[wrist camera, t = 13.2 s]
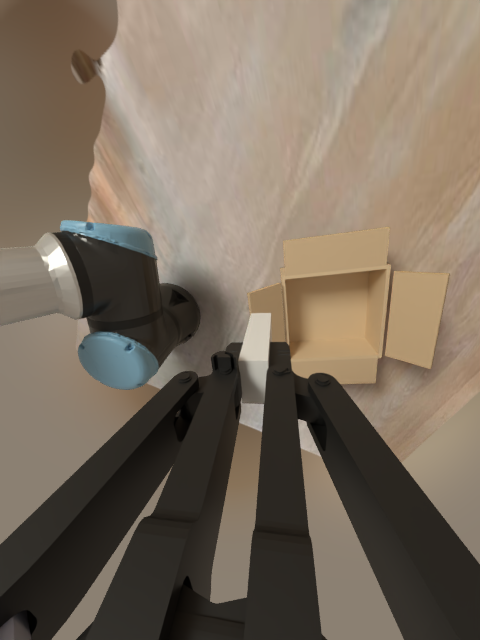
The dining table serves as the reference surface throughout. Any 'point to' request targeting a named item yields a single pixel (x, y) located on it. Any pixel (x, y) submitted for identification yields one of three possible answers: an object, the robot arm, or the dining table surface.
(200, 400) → the robot arm
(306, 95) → the dining table surface
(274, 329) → the flap
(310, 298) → the carton
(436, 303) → the flap
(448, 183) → the dining table surface
